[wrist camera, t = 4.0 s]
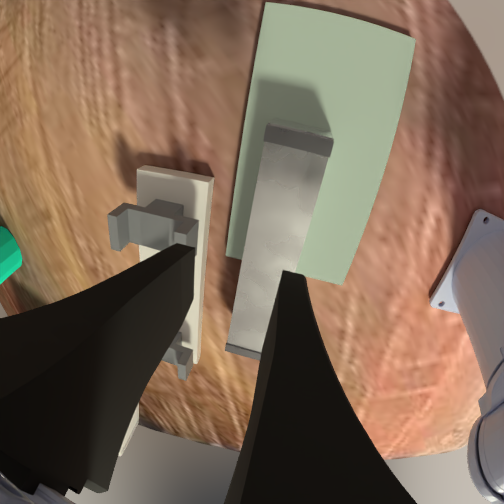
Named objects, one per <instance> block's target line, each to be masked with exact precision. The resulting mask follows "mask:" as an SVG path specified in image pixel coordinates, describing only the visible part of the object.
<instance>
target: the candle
mask: <svg viewBox="0 0 504 504" xmlns="http://www.w3.org/2000/svg"><path fill="white" fill-rule="evenodd" d="M21 264H22V256H21V252H20V248H19V247H18V245H17V243H16V241H15V239H14V237H13V236H12V234H11V233H10V232H9V231H8V229H6V228H4V227H2V226H1V227H0V284H1V283H2V282H3V281H4V280H5V279H7V278H8V277H9V276H10V275H11V274H12V273H13V272H14V271H15V270H17V269H18V268H19V267H20V266H21Z"/></svg>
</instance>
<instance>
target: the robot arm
mask: <svg viewBox="0 0 504 504" xmlns="http://www.w3.org/2000/svg"><path fill="white" fill-rule="evenodd" d="M485 217H487V219H486V221H484V222H483V220H484V218H485ZM194 272H195V247H191V246H187V245H183V244H179V243H176V244H174V245H171V246H169V247H167V248H166V249H164V250H162V251H160V252H158V253H156V254H154V255H153V256H151V257H149V258H147V259H145V260H143V261H141V262H140V263H138V264H136V265H134V266H132V267H130V268H128V269H127V270H125V271H123V272H121V273H119V274H117V275H115V276H113V277H111V278H109V279H107V280H105V281H103V282H101V283H99V284H97V285H95V286H93V287H91V288H88V289H86V290H84V291H82V292H79V293H77V294H75V295H72V296H70V297H67V298H65V299H62V300H60V301H57V302H54V303H51V304H48V305H45V306H42V307H39V308H36V309H33V310H30V311H27V312H24V313H20V314H16V315H12V316H8V317H5V318H0V473H1V474H2V475H3V476H4V477H5V478H6V479H5V478H3V477H2V476H1V474H0V504H75V503H73V502H72V501H70V500H69V499H67V498H66V497H64V496H65V494H66V492H67V490H68V489H70V490H72V491H74V492H75V493H77V494H80V493H81V491H82V489H83V487H86V488H88V489H90V490H92V491H94V492H96V493H102V492H106V491H108V489H109V485H110V481H111V477H112V474H113V471H114V467H115V464H116V460H117V457H118V455H119V452H120V449H121V446H122V443H123V440H124V437H125V435H126V432H127V430H128V427H129V425H130V422H131V419H132V417H133V414H134V412H135V410H136V407H137V405H138V403H139V401H140V398H141V396H142V394H143V391H144V389H145V387H146V386H147V384H148V382H149V380H150V378H151V376H152V375H153V373H154V371H155V370H156V368H157V366H158V365H159V363H160V361H161V360H162V358H163V356H164V355H165V353H166V351H167V350H168V348H169V346H170V345H171V343H172V341H173V340H174V338H175V336H176V335H177V333H178V331H179V330H180V328H181V326H182V324H183V322H184V320H185V318H186V316H187V313H188V311H189V309H190V306H191V304H192V302H193V299H194ZM441 301H443V302H442V303H440V302H441ZM429 302H430V305H431V307H433V308H438V309H442V310H446V311H450V312H454V313H458V314H460V315H461V318H462V320H463V323H464V325H465V328H466V330H467V333H468V335H469V338H470V341H471V344H472V346H473V349H474V352H475V355H476V358H477V361H478V364H479V367H480V370H481V373H482V377H483V380H484V383H485V387H486V393H485V394H484V395H483V396H482V397H481V398H480V399H479V400H478V402H479V406H480V411H481V416H480V417H479V418H478V419H477V420H476V421H475V423H474V424H473V427H472V429H471V432H470V435H469V440H468V452H467V459H468V468H469V473H470V476H471V479H472V481H473V483H474V485H475V487H476V488H477V490H478V491H479V493H480V494H481V495H482V496H483V497H484V498H486V499H487V500H488V501H489V502H491V504H504V220H503V219H501V218H499V217H497V216H495V215H493V214H491V213H489V212H487V211H485V210H482V209H478V210H476V211H475V213H474V214H473V217H472V219H471V221H470V224H469V226H468V228H467V230H466V232H465V234H464V237H463V239H462V241H461V243H460V245H459V247H458V249H457V251H456V253H455V255H454V257H453V259H452V261H451V263H450V265H449V266H448V268H447V270H446V272H445V274H444V276H443V277H442V279H441V281H440V283H439V284H438V286H437V288H436V290H435V291H434V293H433V295H432V296H431V298H430V300H429ZM224 504H417V503H416V502H415V500H414V499H413V498H412V497H411V496H410V494H409V493H408V492H407V491H406V490H405V488H404V487H403V486H402V485H401V483H400V482H399V480H398V479H397V478H396V477H395V475H394V474H393V473H392V472H391V470H390V468H389V467H388V466H387V464H386V463H385V461H384V459H383V458H382V457H381V455H380V454H379V452H378V451H377V449H376V447H375V446H374V444H373V442H372V441H371V439H370V438H369V436H368V434H367V433H366V431H365V429H364V428H363V426H362V424H361V423H360V421H359V419H358V418H357V416H356V414H355V412H354V410H353V408H352V406H351V404H350V402H349V401H348V399H347V397H346V395H345V393H344V391H343V388H342V386H341V384H340V382H339V380H338V378H337V375H336V373H335V371H334V369H333V366H332V364H331V361H330V359H329V356H328V354H327V351H326V348H325V346H324V343H323V340H322V337H321V334H320V331H319V328H318V325H317V322H316V319H315V316H314V312H313V309H312V305H311V301H310V297H309V292H308V287H307V281H306V278H305V276H304V275H303V274H299V273H294V272H290V271H286V270H283V271H282V275H281V279H280V282H279V286H278V290H277V294H276V298H275V302H274V305H273V309H272V313H271V317H270V320H269V324H268V328H267V332H266V335H265V339H264V343H263V347H262V352H261V358H260V364H259V370H258V376H257V382H256V388H255V393H254V399H253V405H252V411H251V415H250V420H249V424H248V428H247V431H246V435H245V438H244V441H243V445H242V448H241V451H240V455H239V458H238V461H237V465H236V468H235V471H234V474H233V477H232V480H231V484H230V487H229V490H228V493H227V496H226V499H225V502H224Z"/></svg>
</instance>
